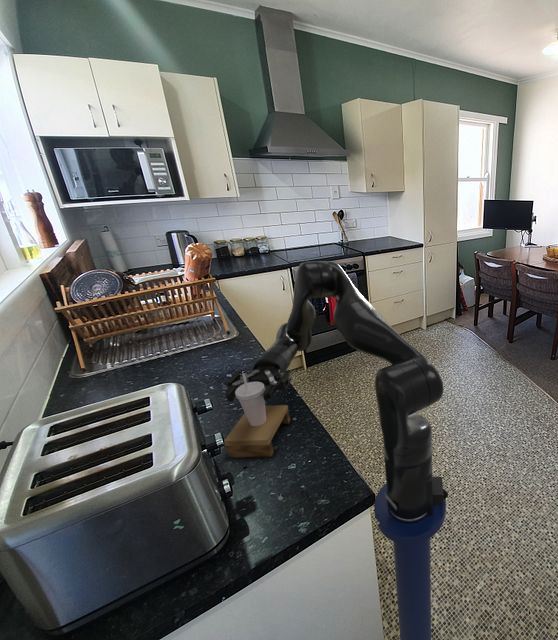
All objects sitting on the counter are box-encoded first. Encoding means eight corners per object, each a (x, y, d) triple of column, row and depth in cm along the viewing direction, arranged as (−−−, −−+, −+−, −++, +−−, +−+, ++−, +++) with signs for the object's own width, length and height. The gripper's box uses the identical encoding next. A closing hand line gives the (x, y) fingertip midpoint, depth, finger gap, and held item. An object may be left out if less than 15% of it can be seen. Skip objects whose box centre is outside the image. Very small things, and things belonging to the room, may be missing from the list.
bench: (290, 420, 93) (287, 405, 91) (271, 456, 81) (267, 440, 79) (253, 420, 93) (249, 405, 91) (229, 457, 81) (223, 440, 79)
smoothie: (239, 421, 85) (226, 373, 80) (265, 409, 90) (254, 363, 84) (249, 434, 81) (235, 384, 76) (276, 421, 85) (265, 372, 80)
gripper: (245, 351, 94) (212, 385, 79) (297, 350, 94) (274, 384, 79) (251, 375, 97) (220, 412, 82) (302, 374, 97) (280, 410, 82)
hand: (247, 398), depth 80 cm, fingers open, 8 cm apart
